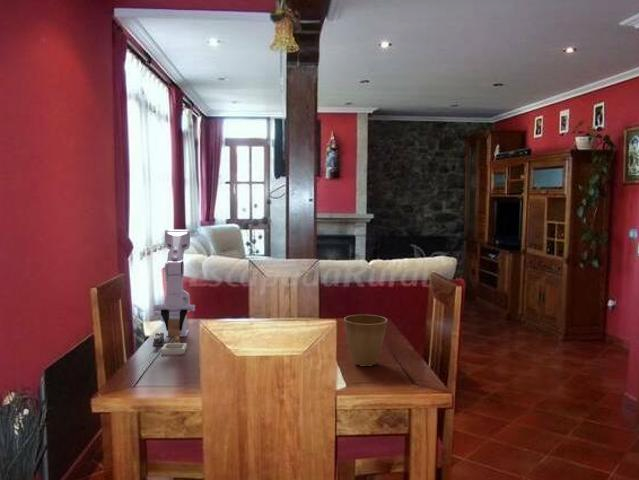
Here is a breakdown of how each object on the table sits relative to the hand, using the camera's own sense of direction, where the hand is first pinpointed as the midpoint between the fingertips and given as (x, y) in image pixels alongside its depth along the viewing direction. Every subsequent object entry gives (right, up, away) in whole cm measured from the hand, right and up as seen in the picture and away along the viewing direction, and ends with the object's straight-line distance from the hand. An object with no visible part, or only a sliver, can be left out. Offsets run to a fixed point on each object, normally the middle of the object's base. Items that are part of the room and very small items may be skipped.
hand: (174, 330), depth 193 cm
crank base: (-6, -7, +10) cm, 14 cm away
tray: (0, -8, 0) cm, 8 cm away
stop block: (0, -2, 0) cm, 2 cm away
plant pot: (+69, -10, -10) cm, 70 cm away
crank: (-8, -6, +7) cm, 12 cm away
